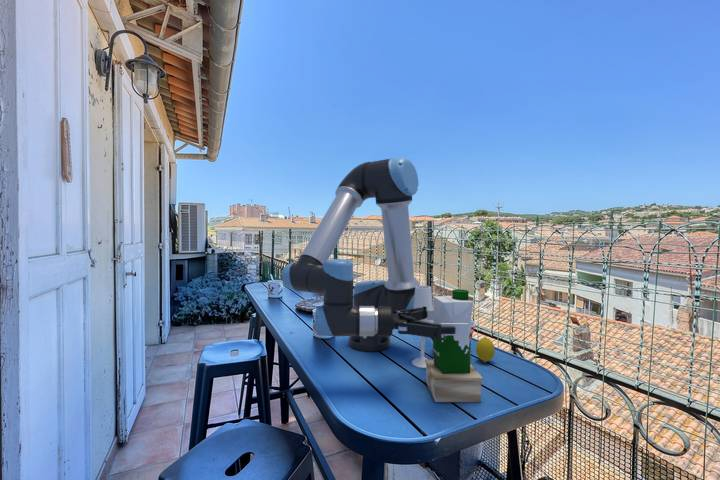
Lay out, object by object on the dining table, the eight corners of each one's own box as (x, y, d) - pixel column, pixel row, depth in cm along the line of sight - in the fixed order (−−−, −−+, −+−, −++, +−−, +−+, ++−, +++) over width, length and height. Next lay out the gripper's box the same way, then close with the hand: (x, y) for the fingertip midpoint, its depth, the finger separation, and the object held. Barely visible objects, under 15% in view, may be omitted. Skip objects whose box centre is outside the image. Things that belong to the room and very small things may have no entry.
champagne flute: (417, 368, 99) (417, 289, 97) (408, 359, 105) (408, 285, 104) (437, 366, 101) (438, 288, 99) (427, 357, 107) (427, 284, 106)
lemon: (496, 366, 101) (496, 340, 101) (477, 365, 102) (477, 339, 102) (492, 359, 106) (493, 335, 106) (474, 358, 107) (474, 334, 107)
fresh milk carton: (475, 374, 81) (476, 293, 80) (439, 375, 80) (440, 294, 80) (461, 360, 90) (462, 287, 89) (429, 361, 89) (430, 287, 88)
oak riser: (424, 380, 91) (424, 359, 90) (466, 381, 91) (466, 359, 91) (434, 402, 79) (434, 377, 79) (482, 402, 79) (482, 378, 79)
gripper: (373, 322, 97) (444, 322, 97) (380, 353, 72) (476, 353, 72) (373, 297, 96) (445, 297, 97) (380, 319, 72) (477, 319, 72)
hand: (458, 321), depth 85 cm, fingers open, 13 cm apart
